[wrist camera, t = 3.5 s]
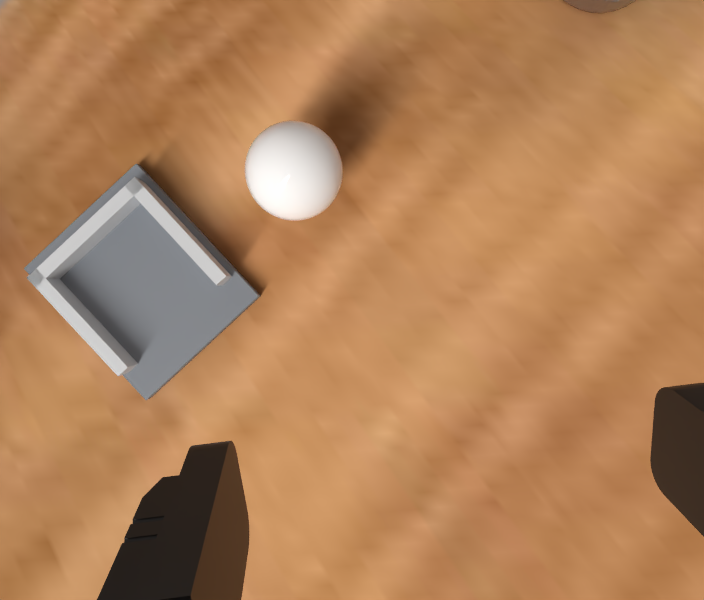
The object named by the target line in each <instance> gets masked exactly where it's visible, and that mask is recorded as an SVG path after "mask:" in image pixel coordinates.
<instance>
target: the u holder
mask: <svg viewBox="0 0 704 600" xmlns="http://www.w3.org/2000/svg"><path fill="white" fill-rule="evenodd" d="M24 269H25V270H26V271H27V272H28V274H29V276H28V277H27V279H28V280H29V281H30V282H31V283H32V284H33V285H34V286H35V287H36V288H37V289H38V290H39V292H40V293H41V294H42V295H43V296H44V297H45V298H46V299H47V300H48V301H49V302H50V303H51V305H52V306H53V307H54V308H55V309H56V310H57V311H58V312H59V313H60V314H61V315H62V316H63V317H64V319H65V320H66V321H67V322H68V323H69V324H70V325H71V326H72V327H73V328H74V329H75V330H76V331H77V333H78V334H79V335H80V336H81V337H82V338H83V339H84V340H85V341H86V342H87V343H88V344H89V345H90V347H91V348H92V349H93V350H94V351H95V352H96V353H97V354H98V355H99V356H100V357H101V358H102V359H103V361H104V362H105V363H106V364H107V365H108V366H109V367H110V368H111V369H112V370H113V371H114V372H115V374H116V375H117V376H120V375H123V376H124V377H125V378H126V379H127V380H128V381H129V382H130V384H131V385H132V386H133V387H134V388H135V389H136V390H137V391H138V392H139V393H140V394H141V395H142V396H143V398H144V399H145V400H148V399H150V398H151V397H152V396H153V395H154V394H156V393H157V392H158V391H159V390H160V389H161V388H162V387H163V386H164V385H165V384H166V383H167V382H168V381H170V380H171V379H172V378H173V377H174V376H175V375H176V374H177V373H178V372H179V371H180V370H181V369H183V368H184V367H185V366H186V365H187V364H188V363H189V362H190V361H191V360H192V359H193V358H194V357H195V356H197V355H198V354H199V353H200V352H201V351H202V350H203V349H204V348H205V347H206V346H207V345H208V344H209V343H211V342H212V341H213V340H214V339H215V338H216V337H217V336H218V335H219V334H220V333H221V332H222V331H224V330H225V329H226V328H227V327H228V326H229V325H230V324H231V323H232V322H233V321H234V320H235V319H236V318H238V317H239V316H240V315H241V314H242V313H243V312H244V311H245V310H246V309H247V308H248V307H249V306H251V305H252V304H253V303H254V302H255V301H256V300H257V299H258V298H259V297H260V294H259V293H258V292H257V291H256V290H255V289H254V288H253V287H252V286H251V285H250V284H249V283H248V282H247V280H246V279H245V278H244V277H243V276H242V275H241V274H240V273H239V272H238V271H237V270H236V269H235V267H234V266H233V265H232V264H231V263H230V262H229V261H228V260H227V259H226V258H225V257H224V256H223V254H222V253H221V252H220V251H219V250H218V249H217V248H216V247H215V246H214V245H213V244H212V243H211V242H210V240H209V239H208V238H207V237H206V236H205V235H204V234H203V233H202V232H201V231H200V230H199V229H198V227H197V226H196V225H195V224H194V223H193V222H192V221H191V220H190V219H189V218H188V217H187V216H186V214H185V213H184V212H183V211H182V210H181V209H180V208H179V207H178V206H177V205H176V204H175V203H174V201H173V200H172V199H171V198H170V197H169V196H168V195H167V194H166V193H165V192H164V191H163V190H162V189H161V187H160V186H159V185H158V184H157V183H156V182H155V181H154V180H153V179H152V178H151V177H150V176H149V174H148V173H147V172H146V171H145V170H144V169H143V168H142V167H141V166H139V165H138V164H135V165H134V166H133V167H132V168H131V169H130V170H129V171H128V172H127V173H126V174H124V175H123V176H122V177H121V178H120V179H119V180H118V181H117V182H116V183H115V184H114V185H113V186H112V187H111V188H109V189H108V190H107V191H106V192H105V193H104V194H103V195H102V196H101V197H100V198H99V199H98V200H97V201H96V202H94V203H93V204H92V205H91V206H90V207H89V208H88V209H87V210H86V211H85V212H84V213H83V214H82V215H81V216H79V217H78V218H77V219H76V220H75V221H74V222H73V223H72V224H71V225H70V226H69V227H68V228H67V229H66V230H64V231H63V232H62V233H61V234H60V235H59V236H58V237H57V238H56V239H55V240H54V241H53V242H52V243H51V244H50V245H48V246H47V247H46V248H45V249H44V250H43V251H42V252H41V253H40V254H39V255H38V256H37V257H36V258H35V259H33V260H32V261H31V262H30V263H29V264H28V265H27V266H26V267H25V268H24Z"/></svg>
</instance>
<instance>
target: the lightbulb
mask: <svg viewBox="0 0 704 600" xmlns="http://www.w3.org/2000/svg"><path fill="white" fill-rule="evenodd" d="M342 177H343V166H342V160H341V157H340V154H339V151H338V149H337V147H336V145H335V144H334V142H333V141H332V139H331V138H330V137H329V136H328V135H327V134H326V133H325V132H324V131H322V130H321V129H319V128H318V127H316V126H314V125H312V124H309V123H306V122H302V121H283V122H279V123H276V124H274V125H271V126H270V127H268V128H266V129H265V130H263V131H262V132H261V133H260V134H259V135H258V136H257V137H256V138H255V140H254V141H253V143H252V144H251V146H250V148H249V150H248V153H247V156H246V161H245V178H246V182H247V186H248V188H249V191H250V193H251V195H252V197H253V198H254V200H255V201H256V202H257V203H258V204H259V205H260V206H261V207H262V208H263V209H264V210H265V211H267V212H268V213H270V214H271V215H273V216H275V217H278V218H281V219H285V220H292V221H298V220H305V219H309V218H312V217H314V216H316V215H318V214H320V213H321V212H323V211H324V210H325V209H327V208H328V207H329V206H330V205H331V203H332V202H333V201H334V199H335V198H336V196H337V194H338V192H339V190H340V187H341V183H342Z"/></svg>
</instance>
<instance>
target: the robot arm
mask: <svg viewBox="0 0 704 600" xmlns="http://www.w3.org/2000/svg"><path fill="white" fill-rule="evenodd" d="M564 1H565V2H566V3H568V4H570V5H572V6H574V7H576V8H577V9H581V10H584V11H588V12H598V13H604V12H610V11H615V10H618V9H621V8H623V7H626V6H627V5H629V4H631V3H632V2H634V1H635V0H564ZM651 468H652V473H653V476H654V479H655V481H656V483H657V485H658V487H659V489H660V490H661V492H662V493H663V494H664V495H665V496H666V497H667V498H668V499H669V501H670V502H671V503H672V504H673V505H674V506H675V507H676V508H677V509H678V510H679V511H680V512H681V513H682V514H683V515H684V516H685V517H686V518H687V520H688V521H689V522H690V523H691V524H692V525H693V526H694V527H695V528H696V529H697V530H698V531H699V532H700V533H701V534H702V535H703V536H704V383H696V384H688V385H680V386H672V387H664V388H661V389H660V390H659V391H658V393H657V395H656V398H655V407H654V420H653V433H652V446H651ZM124 539H125V542H124V543H122V545H121V547H120V549H119V552H118V554H117V556H116V558H115V561H114V563H113V565H112V567H111V570H110V572H109V574H108V576H107V579H106V581H105V583H104V585H103V588H102V590H101V592H100V594H99V597H98V599H97V600H241V597H242V590H243V583H244V576H245V569H246V562H247V555H248V548H249V520H248V512H247V506H246V501H245V495H244V490H243V485H242V480H241V474H240V469H239V464H238V458H237V453H236V449H235V446H234V443H233V442H232V441H226V442H218V443H210V444H202V445H194V446H191V447H190V448H189V451H188V453H187V456H186V459H185V461H184V464H183V467H182V470H181V472H180V475H178V476H170V477H163V478H162V479H161V480H160V481H159V482H158V483H157V484H156V485H155V486H154V487H153V488H152V489H151V490H150V491H149V492H148V493H147V494H146V495H145V496H144V497H143V498H142V500H141V502H140V504H139V507H138V509H137V511H136V513H135V516H134V518H133V524H131V525H130V527H129V529H128V531H127V534H126V536H125V538H124Z"/></svg>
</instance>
